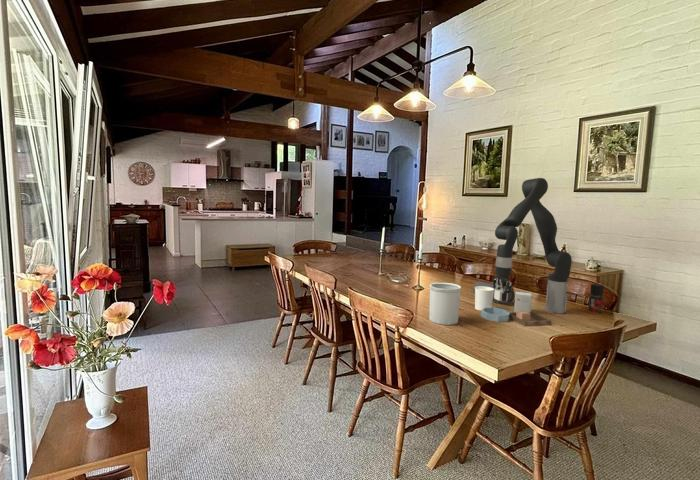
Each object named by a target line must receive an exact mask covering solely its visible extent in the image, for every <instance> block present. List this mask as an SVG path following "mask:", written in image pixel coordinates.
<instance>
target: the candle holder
mask: <svg viewBox="0 0 700 480" xmlns="http://www.w3.org/2000/svg"><path fill="white" fill-rule="evenodd" d="M493 294H494V289H493V288H491V287H486V286H477V287H475V294H474V309H476V311H480V312H481V310H482V309H483V308H488V307H493V302H492V301H493Z"/></svg>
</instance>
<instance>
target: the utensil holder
mask: <svg viewBox="0 0 700 480" xmlns="http://www.w3.org/2000/svg"><path fill="white" fill-rule="evenodd" d="M461 290H462V286H461V285H459V284H456V283H451V282H450V283H449V282H432V283H430V284H429V308H428V309H429V313H428V314H429V316H428V317H429V319H428V320H429V321H430V322H432V323H434V324H437V325H444V326H451V325H457V324H458V322H459V315H460V299H461Z"/></svg>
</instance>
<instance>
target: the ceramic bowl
mask: <svg viewBox="0 0 700 480" xmlns="http://www.w3.org/2000/svg"><path fill="white" fill-rule="evenodd" d="M510 313H511V312H510V311H508V310H507V309H504V308H498V307H494V306H492V307H488V308H483V309H482V310H481V311H480V317H481V318H482V319H485V320H487V321H492V322H496V323H501V322H502V323H503V322H509V320H511V319H510Z"/></svg>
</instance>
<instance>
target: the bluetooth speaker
mask: <svg viewBox="0 0 700 480" xmlns="http://www.w3.org/2000/svg"><path fill="white" fill-rule="evenodd" d="M477 286H486V287H491V288H493V283H490V282H484V281H476V282H475V283H474V284H473V287H472V292H473V294H474V295H475V287H477ZM495 286H496V284H495ZM493 289H494V293H495V288H493ZM501 290H502V289H501ZM504 290H505V289H504ZM508 290H509V289H508ZM515 294H516V293H515V291H514V290H513V289H512V288H511V292H510V293H508V299H507V301H499V300H497V299H494V294H493V301H492V303H495V302H496V304H502V303H503V304H512V303H513V302H515Z"/></svg>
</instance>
